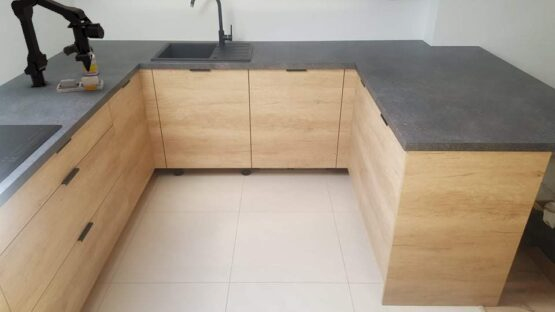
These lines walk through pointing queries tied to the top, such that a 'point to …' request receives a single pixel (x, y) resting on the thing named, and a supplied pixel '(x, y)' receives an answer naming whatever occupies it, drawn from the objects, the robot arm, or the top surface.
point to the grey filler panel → (68, 83)
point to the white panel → (90, 80)
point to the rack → (80, 87)
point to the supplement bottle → (93, 67)
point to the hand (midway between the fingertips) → (88, 71)
